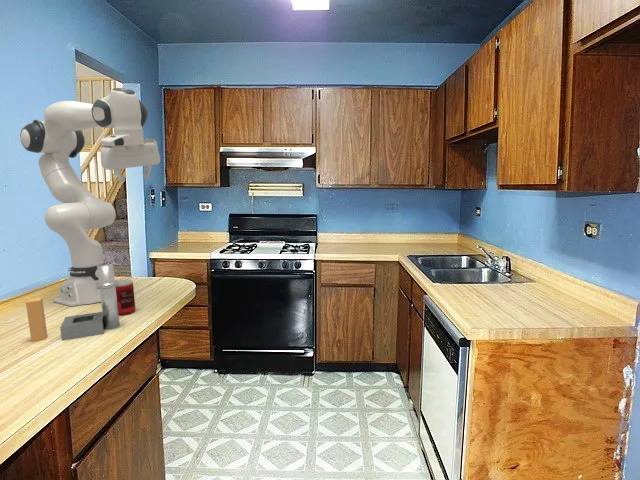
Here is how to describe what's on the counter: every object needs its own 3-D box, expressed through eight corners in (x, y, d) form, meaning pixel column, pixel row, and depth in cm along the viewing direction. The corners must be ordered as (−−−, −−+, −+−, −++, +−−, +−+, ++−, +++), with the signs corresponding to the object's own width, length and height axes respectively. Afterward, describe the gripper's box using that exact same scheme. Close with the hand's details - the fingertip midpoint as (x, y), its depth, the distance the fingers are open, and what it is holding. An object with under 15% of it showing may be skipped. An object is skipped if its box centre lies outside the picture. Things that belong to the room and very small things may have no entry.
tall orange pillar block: (31, 341, 124) (25, 302, 122) (33, 337, 127) (28, 299, 126) (45, 339, 126) (39, 300, 124) (47, 335, 129) (42, 297, 127)
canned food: (116, 310, 153) (113, 280, 151) (139, 308, 153) (136, 279, 152) (107, 316, 145) (104, 285, 144) (131, 315, 146) (128, 284, 144)
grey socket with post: (61, 340, 124) (53, 274, 121) (67, 329, 134) (58, 267, 131) (122, 330, 131) (115, 267, 128) (123, 320, 141) (116, 261, 138)
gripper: (150, 137, 152) (154, 175, 156) (95, 140, 136) (101, 182, 140) (161, 138, 148) (165, 177, 153) (106, 141, 132) (112, 185, 136)
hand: (134, 180), depth 146 cm, fingers open, 8 cm apart
